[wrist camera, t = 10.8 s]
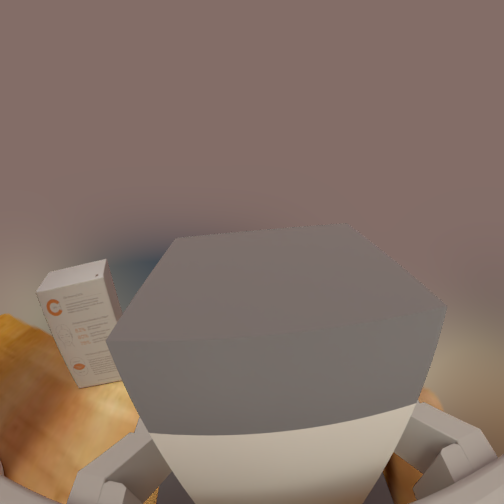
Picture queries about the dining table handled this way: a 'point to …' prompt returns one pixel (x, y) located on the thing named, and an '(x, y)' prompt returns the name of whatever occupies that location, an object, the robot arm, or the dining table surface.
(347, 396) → the plug
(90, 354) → the small box
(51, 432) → the dining table surface
